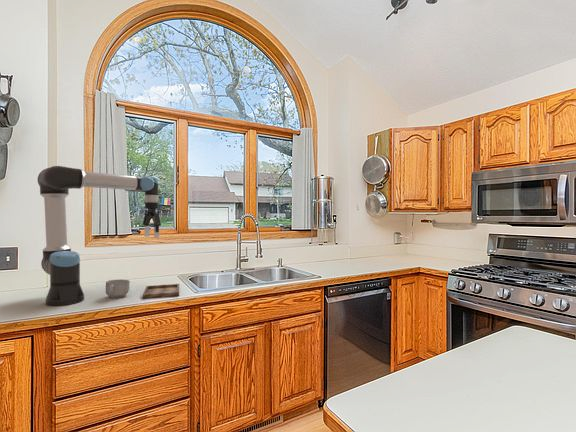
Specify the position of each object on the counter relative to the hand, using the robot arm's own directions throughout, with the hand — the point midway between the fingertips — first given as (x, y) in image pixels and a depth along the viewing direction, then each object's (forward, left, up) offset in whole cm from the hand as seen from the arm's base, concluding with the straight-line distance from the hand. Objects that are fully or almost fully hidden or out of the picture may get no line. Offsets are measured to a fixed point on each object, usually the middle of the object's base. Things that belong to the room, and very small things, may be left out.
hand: (151, 237), depth 199 cm
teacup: (-29, -23, -28) cm, 46 cm away
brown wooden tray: (-9, -31, -27) cm, 42 cm away
